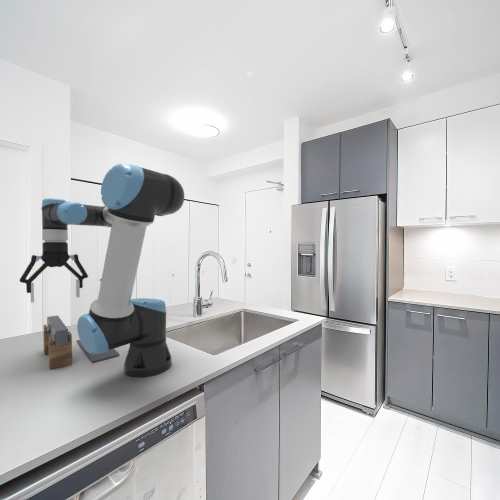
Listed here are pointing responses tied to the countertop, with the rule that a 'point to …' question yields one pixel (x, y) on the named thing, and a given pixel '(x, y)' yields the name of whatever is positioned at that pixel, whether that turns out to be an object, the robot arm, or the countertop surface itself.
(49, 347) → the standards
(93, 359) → the mat
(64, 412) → the countertop surface
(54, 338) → the rail
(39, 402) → the countertop surface
